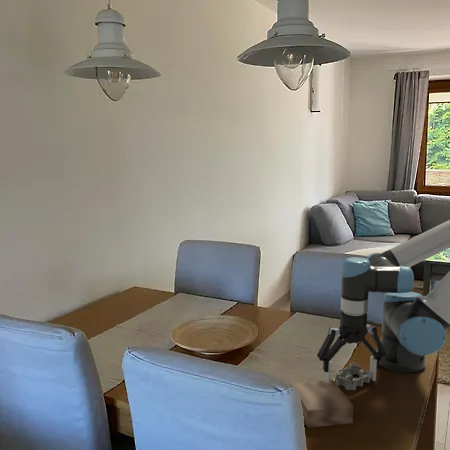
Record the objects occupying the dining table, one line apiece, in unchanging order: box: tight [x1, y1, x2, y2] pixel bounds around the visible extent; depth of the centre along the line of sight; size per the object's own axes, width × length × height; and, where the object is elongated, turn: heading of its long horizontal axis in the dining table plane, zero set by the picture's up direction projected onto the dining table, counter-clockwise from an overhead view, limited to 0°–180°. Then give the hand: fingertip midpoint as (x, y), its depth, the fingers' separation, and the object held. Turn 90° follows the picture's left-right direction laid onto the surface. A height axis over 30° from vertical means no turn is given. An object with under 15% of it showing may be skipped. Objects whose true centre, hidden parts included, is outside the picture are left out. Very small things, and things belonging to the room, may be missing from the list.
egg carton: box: [332, 361, 371, 391], centre depth 149 cm, size 11×8×4 cm
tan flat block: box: [290, 379, 355, 429], centre depth 134 cm, size 12×14×5 cm
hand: (350, 380), depth 149 cm, fingers open, 13 cm apart
